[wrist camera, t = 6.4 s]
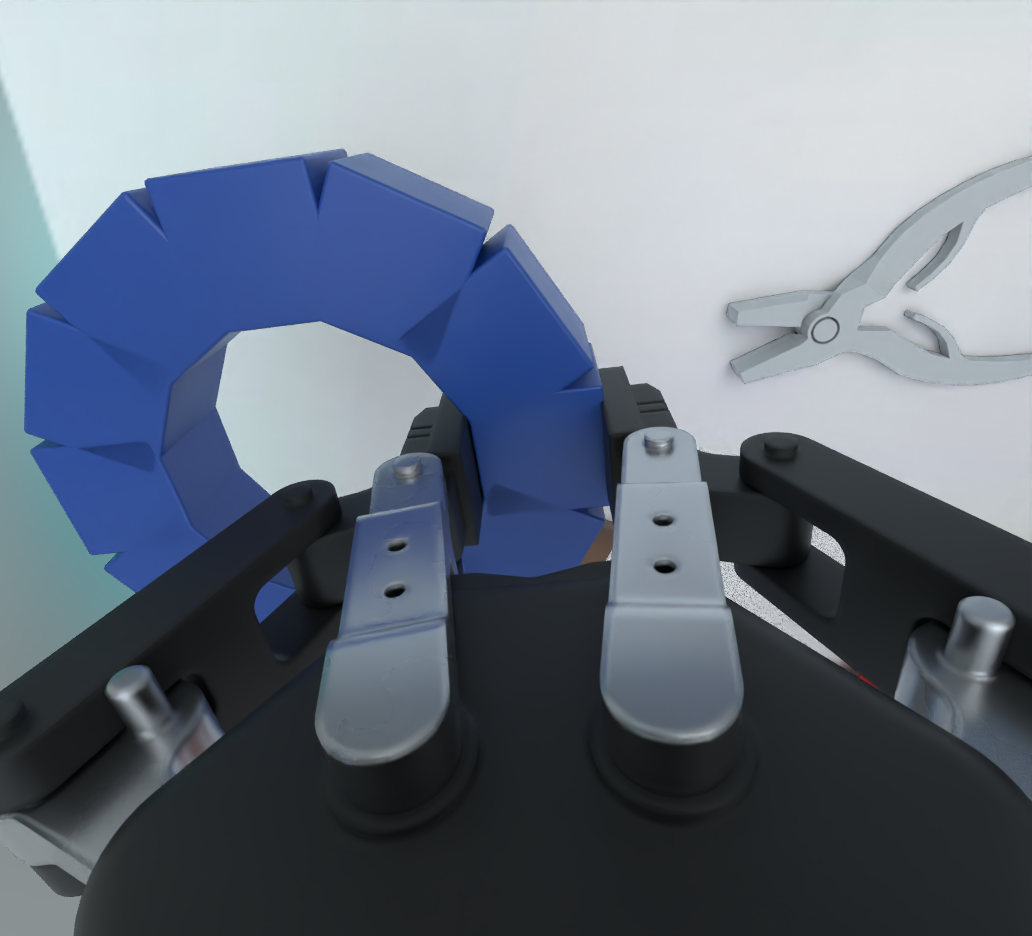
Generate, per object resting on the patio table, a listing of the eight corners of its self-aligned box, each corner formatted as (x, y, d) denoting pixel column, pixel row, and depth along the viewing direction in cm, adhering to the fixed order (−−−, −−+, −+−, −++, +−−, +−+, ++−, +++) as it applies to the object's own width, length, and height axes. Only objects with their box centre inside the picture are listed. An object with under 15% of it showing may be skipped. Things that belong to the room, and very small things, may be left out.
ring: (130, 45, 12) (29, 27, 10) (687, 295, 14) (719, 332, 12) (89, 526, 18) (19, 591, 15) (489, 651, 20) (484, 726, 18)
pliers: (1075, 376, 29) (745, 443, 30) (1049, 364, 30) (735, 429, 32) (1124, 141, 24) (730, 239, 26) (1091, 140, 25) (719, 232, 27)
